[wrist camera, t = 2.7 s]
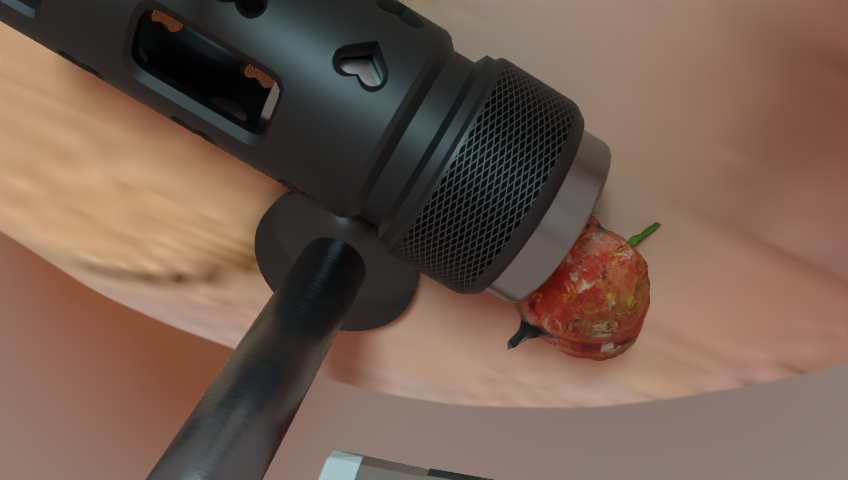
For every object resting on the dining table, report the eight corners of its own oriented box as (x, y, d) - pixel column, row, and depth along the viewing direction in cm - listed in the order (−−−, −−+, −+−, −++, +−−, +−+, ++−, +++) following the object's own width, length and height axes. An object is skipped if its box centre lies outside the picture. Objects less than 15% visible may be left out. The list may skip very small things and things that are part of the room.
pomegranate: (600, 148, 34) (443, 248, 32) (708, 193, 28) (521, 319, 26) (628, 254, 38) (489, 347, 36) (728, 314, 32) (566, 429, 30)
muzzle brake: (73, -254, 27) (-161, -284, 19) (622, 91, 30) (629, 199, 22) (46, -45, 33) (-145, 4, 24) (512, 231, 36) (483, 361, 27)
